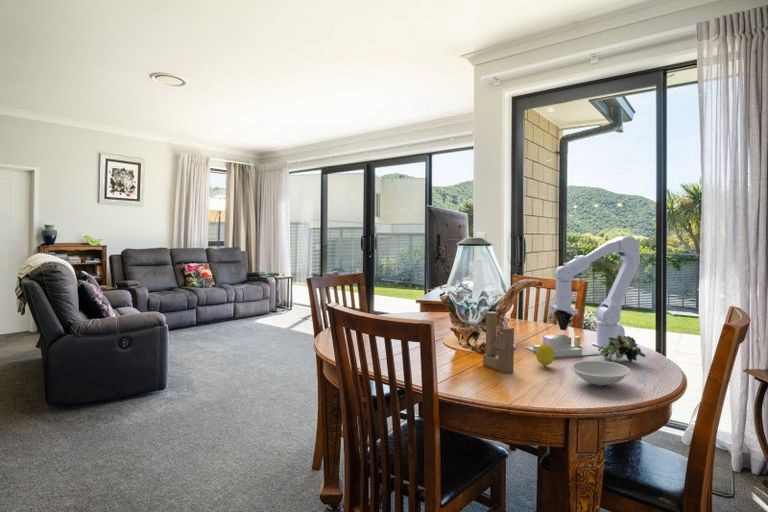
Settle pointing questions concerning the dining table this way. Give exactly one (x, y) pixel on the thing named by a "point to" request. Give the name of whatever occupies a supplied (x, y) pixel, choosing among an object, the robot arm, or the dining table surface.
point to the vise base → (584, 352)
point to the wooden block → (498, 346)
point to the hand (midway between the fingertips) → (563, 329)
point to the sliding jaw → (576, 345)
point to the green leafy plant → (622, 348)
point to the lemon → (545, 354)
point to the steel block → (558, 341)
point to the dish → (600, 371)
